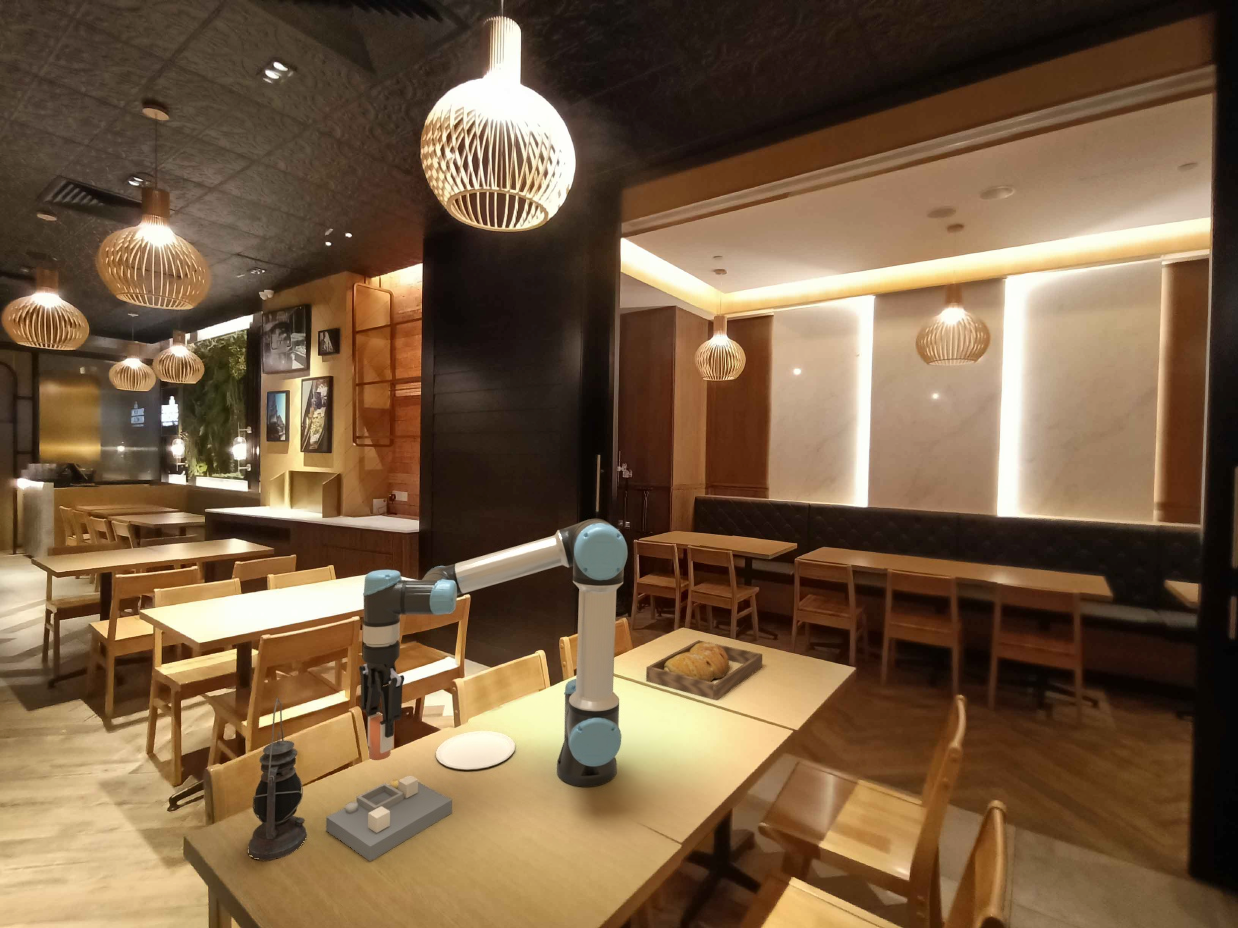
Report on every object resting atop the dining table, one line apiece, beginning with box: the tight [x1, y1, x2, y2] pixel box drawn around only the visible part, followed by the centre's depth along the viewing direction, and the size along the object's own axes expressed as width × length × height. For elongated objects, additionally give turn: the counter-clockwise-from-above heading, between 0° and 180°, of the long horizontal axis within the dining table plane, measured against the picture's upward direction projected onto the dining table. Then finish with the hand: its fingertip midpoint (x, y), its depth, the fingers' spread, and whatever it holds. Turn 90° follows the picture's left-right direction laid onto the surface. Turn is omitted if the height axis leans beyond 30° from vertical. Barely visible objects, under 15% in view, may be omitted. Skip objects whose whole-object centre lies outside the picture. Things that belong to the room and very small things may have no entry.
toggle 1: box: [368, 806, 390, 833], centre depth 124 cm, size 3×3×3 cm
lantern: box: [247, 697, 308, 861], centre depth 123 cm, size 12×11×30 cm
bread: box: [664, 641, 730, 682], centre depth 225 cm, size 32×20×10 cm, turn 144°
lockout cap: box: [368, 714, 392, 761], centre depth 133 cm, size 4×4×8 cm
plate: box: [435, 730, 516, 771], centre depth 162 cm, size 21×21×1 cm
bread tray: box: [645, 639, 763, 701], centre depth 223 cm, size 27×39×5 cm
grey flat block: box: [325, 779, 453, 862], centre depth 131 cm, size 16×20×4 cm
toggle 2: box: [398, 775, 419, 798], centre depth 136 cm, size 3×3×3 cm
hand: (380, 746), depth 133 cm, fingers closed on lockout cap, 4 cm apart
